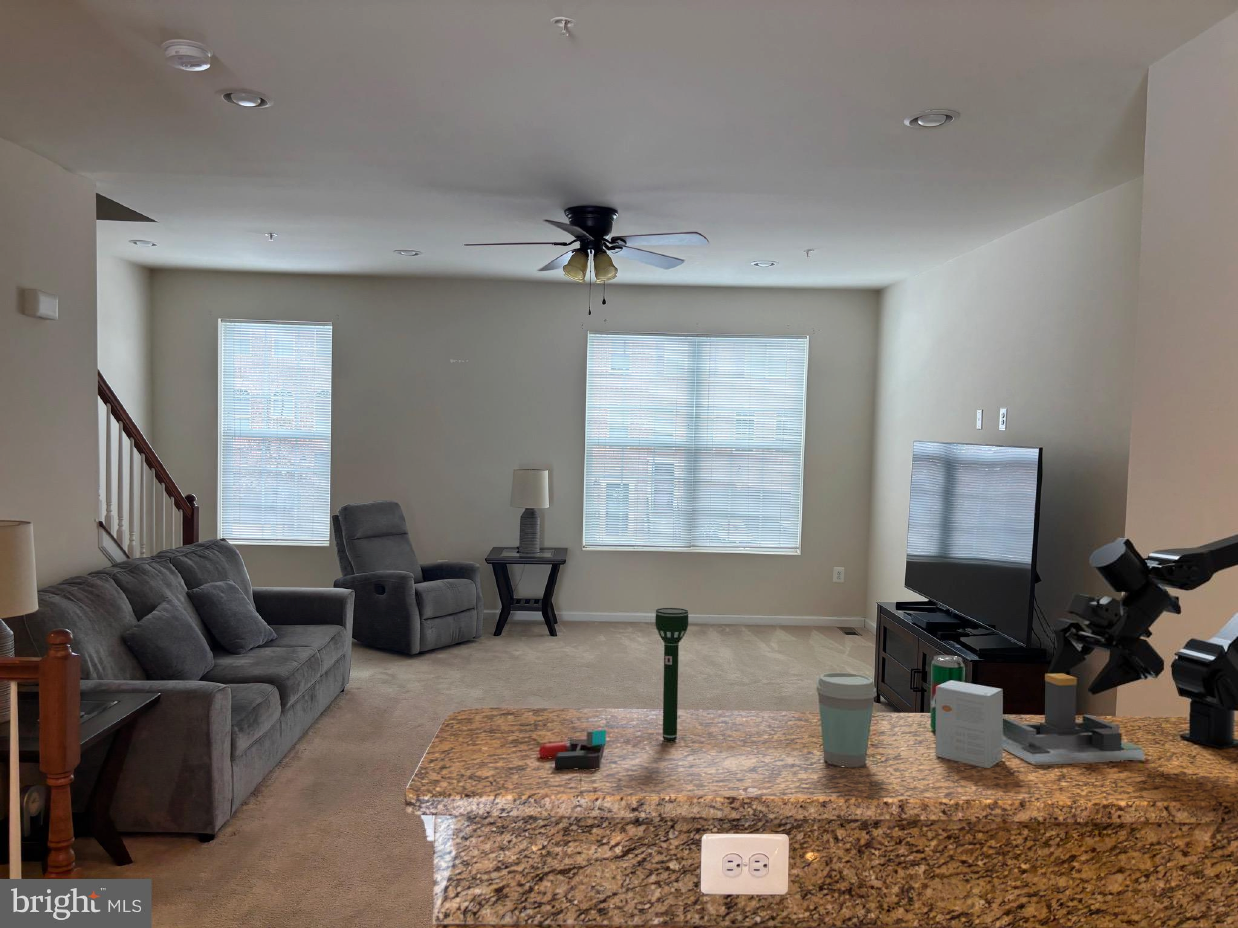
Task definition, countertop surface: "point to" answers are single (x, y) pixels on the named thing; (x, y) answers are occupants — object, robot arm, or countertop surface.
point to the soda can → (944, 678)
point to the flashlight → (671, 663)
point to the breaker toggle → (1059, 705)
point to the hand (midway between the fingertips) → (1068, 684)
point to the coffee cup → (845, 717)
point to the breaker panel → (1069, 743)
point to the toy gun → (577, 751)
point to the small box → (969, 723)
